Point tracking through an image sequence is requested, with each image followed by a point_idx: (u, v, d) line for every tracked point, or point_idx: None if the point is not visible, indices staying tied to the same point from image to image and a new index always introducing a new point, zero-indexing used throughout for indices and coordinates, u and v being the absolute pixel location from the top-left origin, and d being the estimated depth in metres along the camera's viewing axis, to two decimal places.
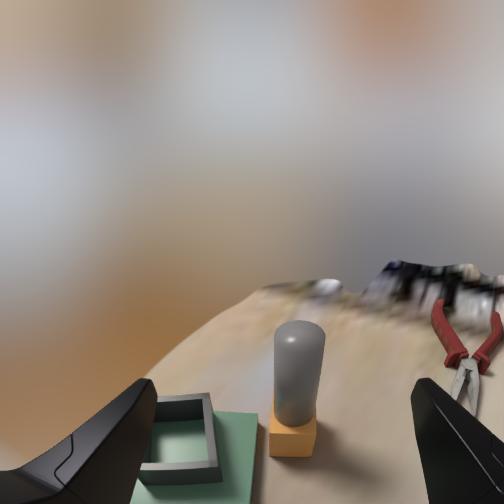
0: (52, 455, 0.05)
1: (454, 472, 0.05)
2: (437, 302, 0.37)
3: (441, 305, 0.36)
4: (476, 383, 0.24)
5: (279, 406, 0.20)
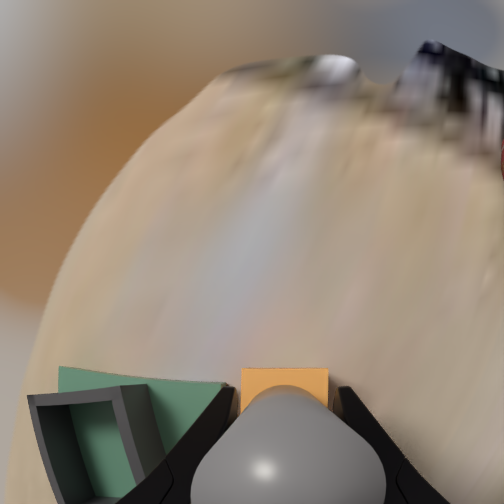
0: (149, 487, 0.05)
1: None
2: None
3: None
4: None
5: None
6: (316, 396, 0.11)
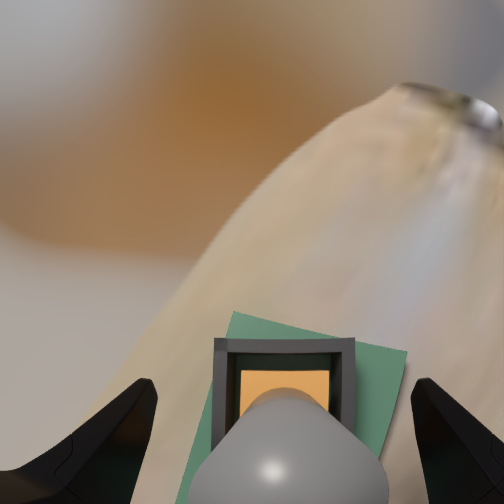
0: (52, 455, 0.05)
1: (454, 472, 0.05)
2: None
3: None
4: None
5: None
6: (317, 399, 0.11)
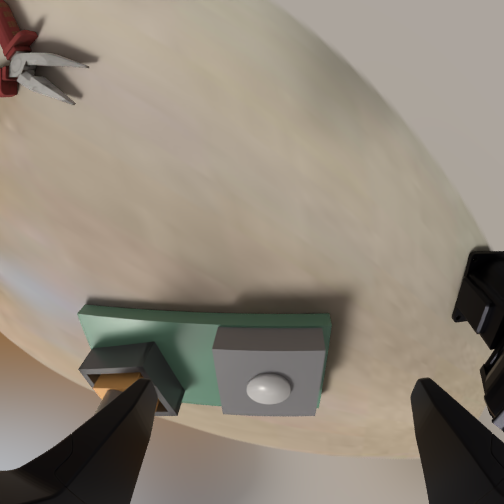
0: (52, 455, 0.05)
1: (454, 472, 0.05)
2: None
3: None
4: (43, 59, 0.15)
5: None
6: (105, 391, 0.22)
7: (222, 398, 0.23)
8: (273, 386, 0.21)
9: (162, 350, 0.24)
